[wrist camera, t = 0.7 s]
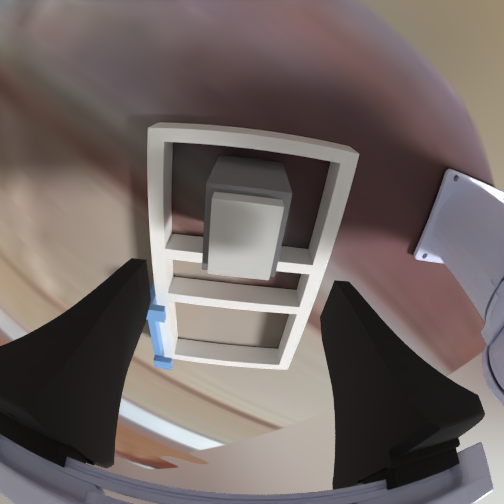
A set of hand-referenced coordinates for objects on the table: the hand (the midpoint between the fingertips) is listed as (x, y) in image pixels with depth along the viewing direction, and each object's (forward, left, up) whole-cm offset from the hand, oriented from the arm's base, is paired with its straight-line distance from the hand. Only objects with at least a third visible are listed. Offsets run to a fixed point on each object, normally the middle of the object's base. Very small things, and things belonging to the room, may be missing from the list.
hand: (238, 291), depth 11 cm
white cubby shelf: (0, +6, -9) cm, 11 cm away
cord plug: (0, 0, -10) cm, 10 cm away
